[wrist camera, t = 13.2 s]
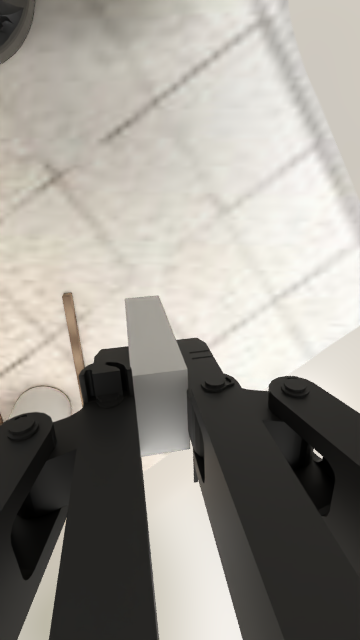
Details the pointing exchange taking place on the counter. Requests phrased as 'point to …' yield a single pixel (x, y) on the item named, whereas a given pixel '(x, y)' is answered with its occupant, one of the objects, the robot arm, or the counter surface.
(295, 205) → the counter surface
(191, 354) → the robot arm
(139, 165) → the counter surface
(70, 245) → the counter surface
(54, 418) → the pill bottle
